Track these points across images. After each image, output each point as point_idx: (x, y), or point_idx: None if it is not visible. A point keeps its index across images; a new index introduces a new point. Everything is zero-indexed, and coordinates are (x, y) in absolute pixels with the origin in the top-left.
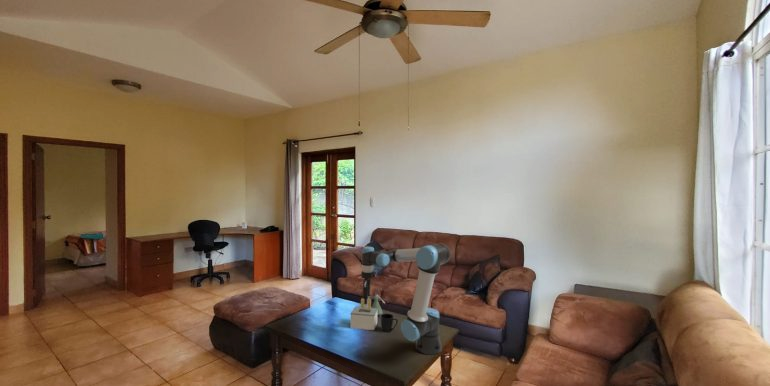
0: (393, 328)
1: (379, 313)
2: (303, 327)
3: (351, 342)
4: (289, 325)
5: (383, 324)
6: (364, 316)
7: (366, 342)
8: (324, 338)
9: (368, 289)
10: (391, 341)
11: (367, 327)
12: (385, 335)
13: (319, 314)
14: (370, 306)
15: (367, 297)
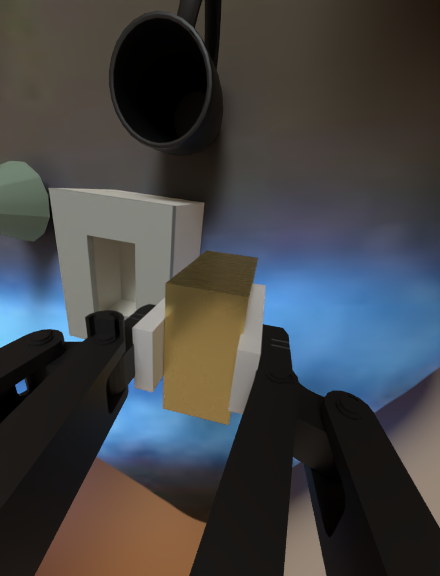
0: (217, 53)
1: (35, 179)
2: (209, 460)
3: (343, 307)
4: (200, 490)
5: (215, 131)
6: (175, 274)
7: (351, 235)
8: None
9: (20, 504)
10: (354, 68)
11: (198, 240)
12: (266, 123)
13: None
14: (225, 259)
15: (296, 394)
